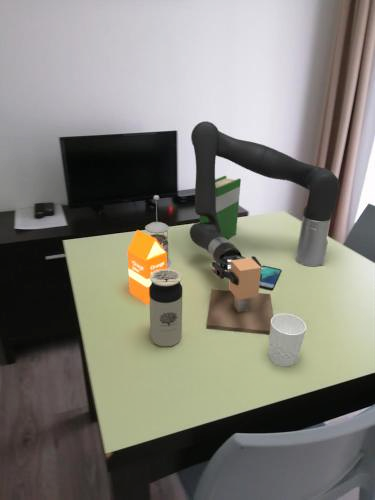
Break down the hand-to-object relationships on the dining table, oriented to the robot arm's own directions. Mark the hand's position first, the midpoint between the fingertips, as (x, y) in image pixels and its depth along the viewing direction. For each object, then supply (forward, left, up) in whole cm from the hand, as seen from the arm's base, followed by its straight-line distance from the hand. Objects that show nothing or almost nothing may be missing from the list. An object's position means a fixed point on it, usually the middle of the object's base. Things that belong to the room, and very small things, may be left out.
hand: (248, 280), depth 96 cm
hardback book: (+10, -52, -12) cm, 54 cm away
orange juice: (+29, -7, -12) cm, 32 cm away
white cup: (-9, +15, -12) cm, 21 cm away
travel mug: (+20, +12, -12) cm, 26 cm away
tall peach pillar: (+1, -2, -5) cm, 6 cm away
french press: (+30, -28, -12) cm, 43 cm away
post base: (+1, -2, -12) cm, 12 cm away
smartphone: (-8, -23, -13) cm, 27 cm away
